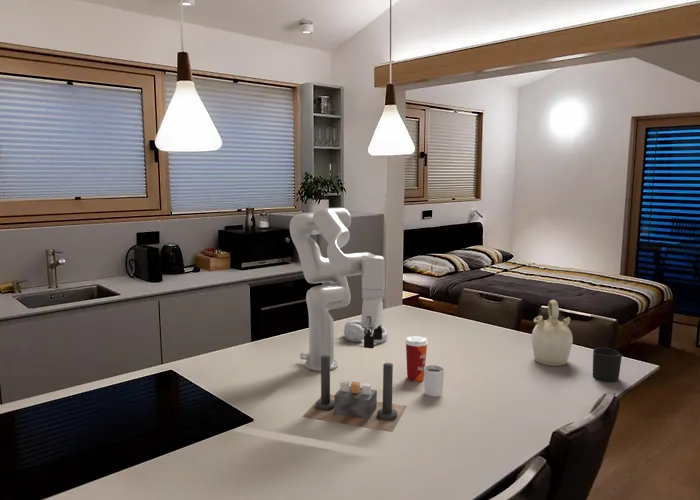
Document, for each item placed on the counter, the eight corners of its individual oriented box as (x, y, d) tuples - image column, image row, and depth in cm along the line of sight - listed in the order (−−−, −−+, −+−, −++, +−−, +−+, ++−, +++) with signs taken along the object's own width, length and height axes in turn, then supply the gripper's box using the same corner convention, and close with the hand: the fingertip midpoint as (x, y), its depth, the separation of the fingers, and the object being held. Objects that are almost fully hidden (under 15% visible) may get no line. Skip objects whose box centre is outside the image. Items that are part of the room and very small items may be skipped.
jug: (529, 364, 209) (532, 302, 206) (531, 352, 223) (535, 294, 220) (571, 370, 204) (575, 306, 200) (571, 357, 218) (575, 297, 214)
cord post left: (312, 408, 165) (312, 358, 163) (320, 401, 171) (320, 352, 168) (330, 411, 163) (331, 361, 161) (337, 403, 169) (337, 354, 167)
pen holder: (623, 377, 196) (625, 351, 195) (614, 385, 189) (617, 358, 188) (596, 371, 202) (598, 346, 201) (587, 378, 196) (589, 351, 194)
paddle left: (340, 390, 164) (339, 382, 163) (342, 388, 165) (341, 379, 164) (348, 391, 163) (347, 383, 162) (349, 389, 164) (348, 381, 163)
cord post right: (374, 418, 159) (375, 366, 156) (380, 410, 164) (381, 360, 162) (394, 422, 157) (395, 369, 154) (399, 413, 162) (400, 362, 160)
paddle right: (362, 394, 161) (361, 385, 160) (363, 391, 163) (363, 383, 162) (369, 395, 161) (369, 386, 160) (371, 392, 162) (370, 384, 161)
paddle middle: (351, 392, 163) (350, 384, 162) (352, 389, 164) (352, 381, 163) (358, 393, 162) (358, 385, 161) (360, 390, 163) (359, 382, 162)
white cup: (431, 402, 174) (431, 373, 172) (419, 395, 179) (419, 366, 178) (447, 398, 177) (448, 370, 175) (435, 391, 183) (436, 363, 181)
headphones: (342, 343, 232) (387, 350, 232) (344, 326, 231) (390, 333, 231) (343, 331, 250) (385, 337, 250) (345, 315, 249) (387, 321, 249)
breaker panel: (302, 421, 160) (301, 397, 159) (324, 397, 177) (324, 376, 176) (392, 436, 151) (392, 411, 150) (406, 410, 168) (407, 387, 167)
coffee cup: (426, 383, 189) (427, 343, 187) (403, 381, 191) (404, 341, 189) (427, 375, 197) (428, 336, 195) (405, 373, 199) (406, 334, 197)
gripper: (370, 287, 184) (370, 335, 186) (353, 297, 168) (354, 350, 170) (391, 288, 182) (390, 337, 184) (376, 299, 165) (376, 352, 168)
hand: (373, 343), depth 177 cm, fingers open, 9 cm apart
